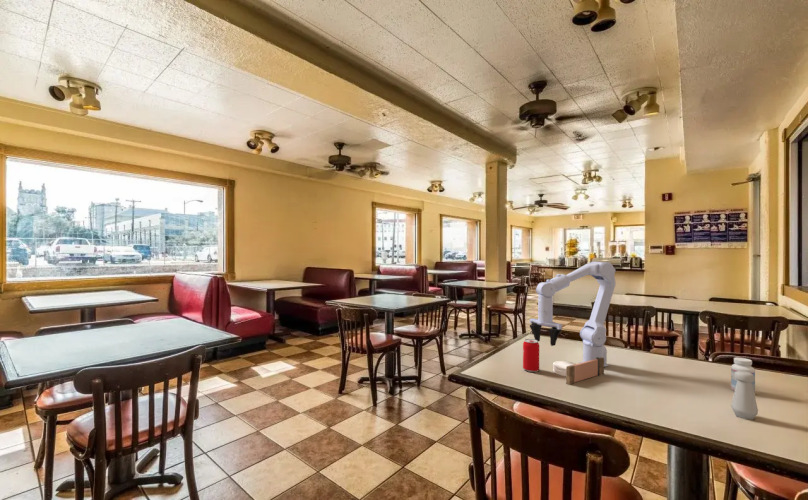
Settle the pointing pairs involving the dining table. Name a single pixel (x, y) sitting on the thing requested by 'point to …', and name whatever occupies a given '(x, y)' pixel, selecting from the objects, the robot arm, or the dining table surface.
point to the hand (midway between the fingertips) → (545, 343)
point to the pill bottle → (741, 365)
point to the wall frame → (571, 371)
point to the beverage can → (531, 355)
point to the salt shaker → (744, 396)
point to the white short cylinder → (561, 367)
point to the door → (585, 370)
